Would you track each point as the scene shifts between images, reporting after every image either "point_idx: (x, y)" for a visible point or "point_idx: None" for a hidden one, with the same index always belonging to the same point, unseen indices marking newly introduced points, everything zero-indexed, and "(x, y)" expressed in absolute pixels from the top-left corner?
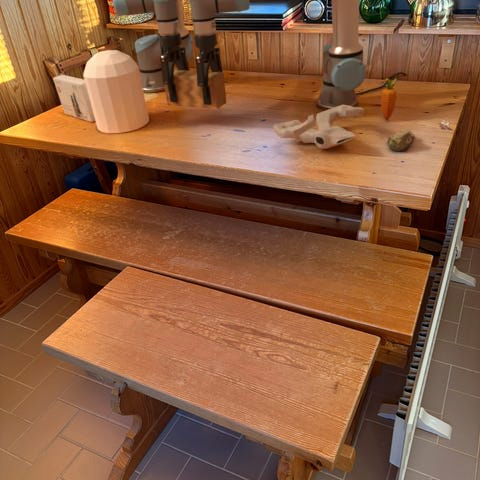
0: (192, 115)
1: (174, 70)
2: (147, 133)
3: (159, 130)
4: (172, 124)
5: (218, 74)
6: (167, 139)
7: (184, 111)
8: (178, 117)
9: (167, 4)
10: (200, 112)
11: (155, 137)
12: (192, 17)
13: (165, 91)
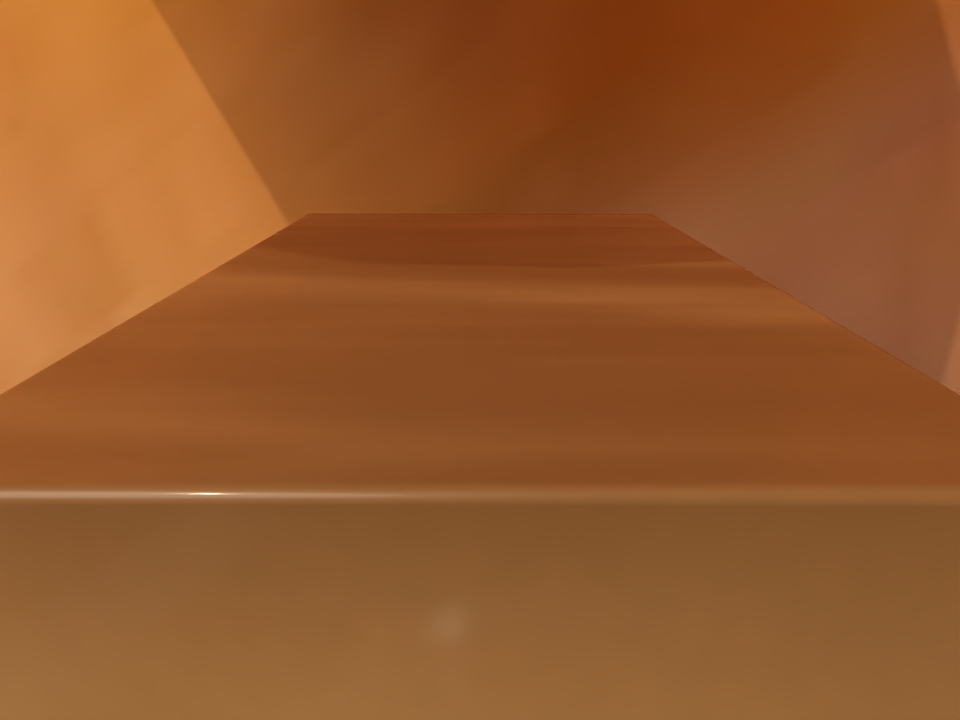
0: (736, 247)
1: (944, 637)
2: (62, 4)
3: (202, 108)
4: (416, 161)
5: None
6: (43, 352)
7: (873, 55)
8: (649, 100)
9: None
10: (843, 291)
11: (19, 190)
12: None
13: (217, 268)
